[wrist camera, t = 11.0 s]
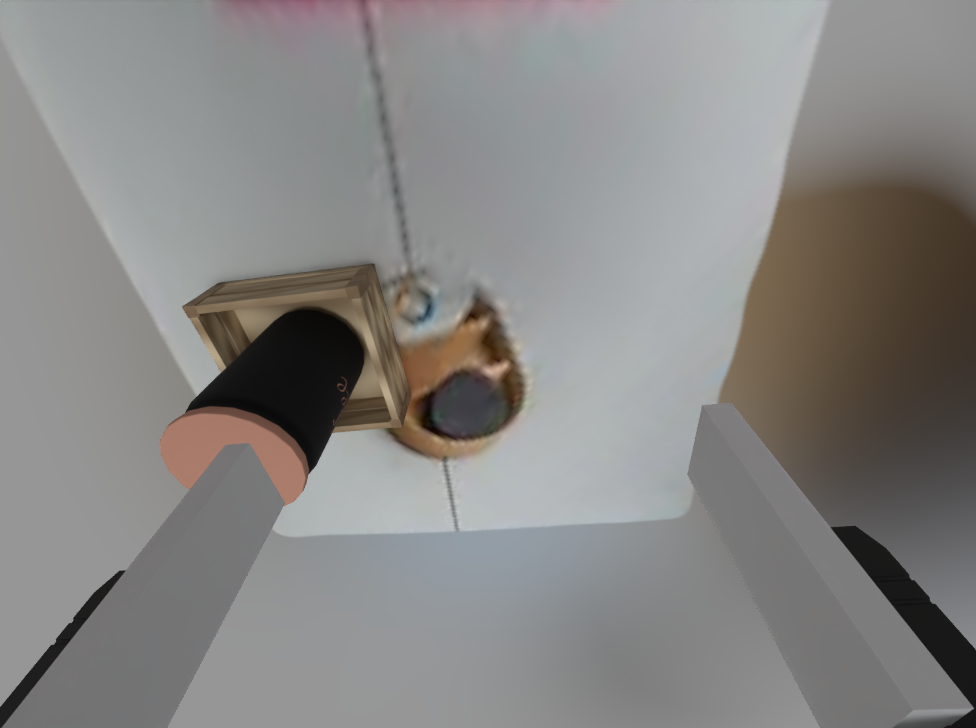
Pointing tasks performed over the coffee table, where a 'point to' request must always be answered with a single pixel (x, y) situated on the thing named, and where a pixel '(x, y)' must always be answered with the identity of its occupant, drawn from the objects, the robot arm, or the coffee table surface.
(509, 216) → the coffee table surface
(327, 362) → the coffee jar
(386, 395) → the pine crate
